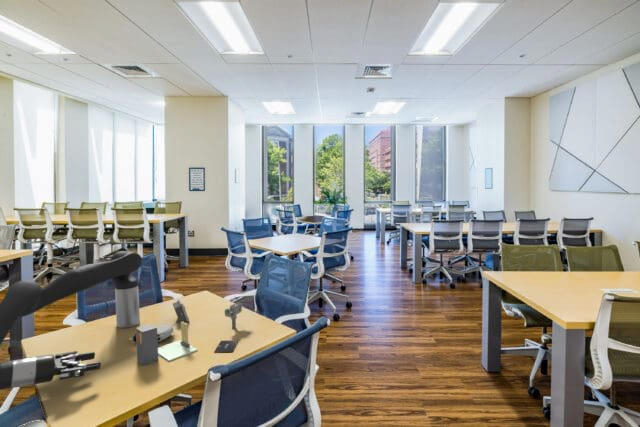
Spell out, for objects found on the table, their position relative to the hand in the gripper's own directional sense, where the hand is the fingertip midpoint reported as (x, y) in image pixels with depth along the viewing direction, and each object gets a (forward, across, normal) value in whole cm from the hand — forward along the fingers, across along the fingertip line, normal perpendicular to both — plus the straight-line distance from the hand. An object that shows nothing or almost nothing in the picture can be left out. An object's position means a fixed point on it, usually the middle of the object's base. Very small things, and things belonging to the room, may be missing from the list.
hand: (97, 360), depth 112 cm
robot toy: (+24, +19, +3) cm, 31 cm away
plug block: (+16, +1, +4) cm, 17 cm away
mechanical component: (+52, +6, -1) cm, 53 cm away
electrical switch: (+40, +32, +1) cm, 51 cm away
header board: (+26, +2, +2) cm, 26 cm away
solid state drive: (+42, -8, 0) cm, 42 cm away
